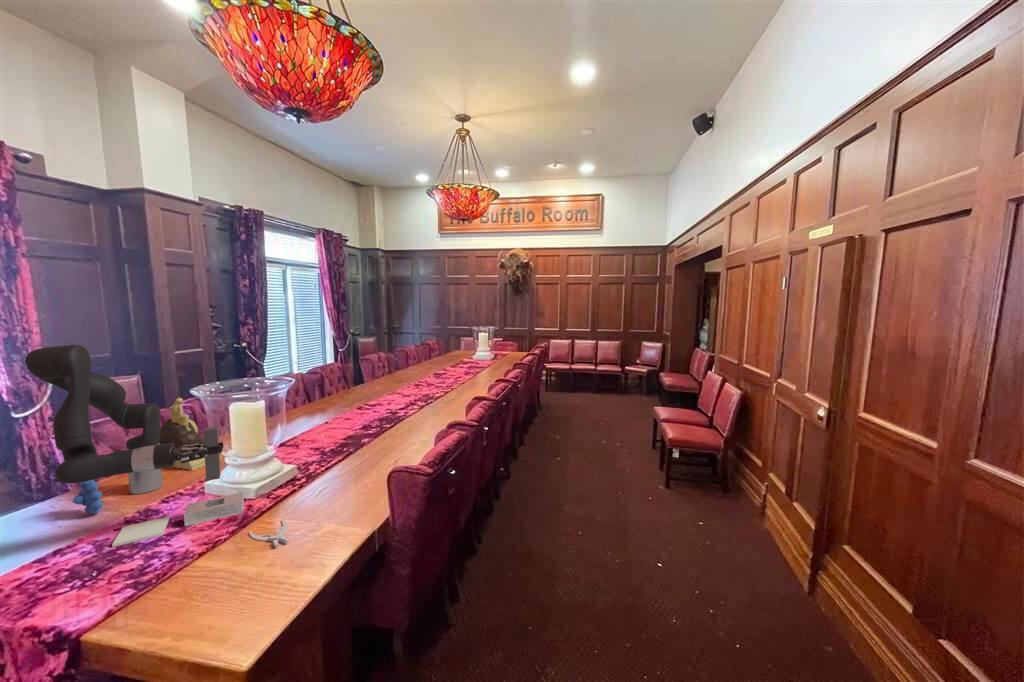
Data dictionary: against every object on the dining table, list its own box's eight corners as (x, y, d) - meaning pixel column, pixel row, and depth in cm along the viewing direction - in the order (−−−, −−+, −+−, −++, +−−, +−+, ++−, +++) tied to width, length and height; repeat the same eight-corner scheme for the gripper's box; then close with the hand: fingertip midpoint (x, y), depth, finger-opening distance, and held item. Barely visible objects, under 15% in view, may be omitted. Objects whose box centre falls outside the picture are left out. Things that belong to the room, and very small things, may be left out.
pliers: (283, 517, 126) (300, 535, 116) (283, 521, 126) (300, 540, 116) (248, 529, 119) (262, 550, 109) (248, 534, 119) (263, 555, 109)
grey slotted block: (188, 515, 129) (187, 503, 129) (243, 502, 137) (243, 492, 137) (184, 526, 122) (184, 514, 122) (242, 512, 131) (242, 501, 130)
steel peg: (207, 477, 129) (204, 427, 128) (220, 474, 131) (218, 426, 130) (206, 481, 126) (203, 430, 125) (219, 478, 128) (217, 428, 127)
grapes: (66, 515, 129) (62, 480, 128) (94, 505, 135) (91, 472, 134) (81, 523, 124) (78, 487, 123) (110, 513, 130) (107, 479, 129)
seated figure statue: (222, 459, 176) (218, 395, 174) (192, 471, 164) (187, 402, 162) (178, 453, 184) (174, 391, 182) (146, 463, 172) (141, 397, 169)
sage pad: (123, 528, 121) (123, 526, 121) (169, 518, 127) (169, 516, 127) (112, 547, 112) (112, 544, 112) (162, 535, 118) (162, 532, 118)
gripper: (148, 452, 114) (220, 442, 123) (158, 439, 126) (223, 430, 135) (149, 477, 115) (221, 465, 124) (159, 461, 126) (224, 451, 136)
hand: (222, 447), depth 130 cm, fingers closed on steel peg, 3 cm apart
